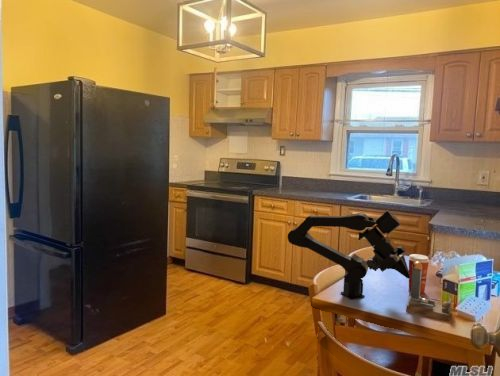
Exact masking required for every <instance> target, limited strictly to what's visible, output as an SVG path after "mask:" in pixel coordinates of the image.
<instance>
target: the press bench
mask: <svg viewBox="0 0 500 376" xmlns="http://www.w3.org/2000/svg"><path fill="white" fill-rule="evenodd" d="M452 298H453V297H449V299H448V301H443V302H442V303H441V304H439V303H436V300H433V299H429V302H428V304H426V303H421V302H416V301H412V300H408V302H407V304H406V308H405V312H407V313H411V314H412V313H413V314H417V315H421V316H425V317H430V318H434V319H439V320H441V321H442V320H444V321H447V322H448V321H449V322H450V317H451V314H452V313H451V312H452Z"/></svg>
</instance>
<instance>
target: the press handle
mask: <svg viewBox="0 0 500 376" xmlns="http://www.w3.org/2000/svg"><path fill="white" fill-rule="evenodd" d="M412 267H413V269H412V283H411V292H410V295H409V300H412V301H416V302H421V303H426V304H428V302H429V300H430V299H428V298H423V297H421V294H420V287H421V273H422V264H421V263H420V262H414V263H413V265H412ZM409 300H408V301H409Z"/></svg>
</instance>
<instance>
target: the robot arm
mask: <svg viewBox="0 0 500 376" xmlns="http://www.w3.org/2000/svg"><path fill="white" fill-rule="evenodd" d="M401 225H402V223H401V221H400V220H399V219H398V218H397V216H396V215H393V214H392V212H390V211H389V209H387V210H385V211H384V213H382V215H380V216H378V217H377V218H376V217H372V216H368V215H367V214H366V213H364V212H358V213H352V214H347V215H313V214H310V215H309V216H307V217H306V218H305V219H304V220H303V221H302V222H301V223H300V224H299V225H298V226H297V227H294V228H293V229H291V230H290V231H288V233H287V240H288V243H289V244H291V245H292V246H295V247H296V246H297V247H300V248H305V249H308V250H310V251H312V252H314V253H316V254H318V255H320V256H322V257H324V258H326V259H327V260H329V261H331V262H333V263H335V264H336V265H338V266H340V267H341V268H342V269H343V270H345V274H344V276H343V278H344V279H343V291H340V294H341V295H343V296H345V297H347V298H348V299H350V300H355V299H361V298H365V296H366V295H364V292H363V291H364V282H363V281H364V280H363V278H365V277H366V276H367V272H368V270H370V271H371V270H373V271H374V272H377V271H378V269H379V270H380V271H381V272H382V273H383V272H384V271H386V270H395V271H397V272H398V273H399V274H400V275H402V276H404V277H405V278H406V279H409V278H410V277H411V276H410V273H409V266H408V264H407V260H406V258H405V254H403V253H406V248H405V247H404V246H402V245H398V246H397V247H394V246H393V244H392V243H390V241H391V239H389V238H386V237H385V234H387V235H390V234H391V233H393V231H395V230H396V229H398V228H399V227H400V226H401ZM312 227H323V228H324V227H325V228H326V227H330V228H331V227H332V228H333V227H334V228H346V229H349V230H354V231H357V232H358V231H359V232H358V241H361V240H362V239H365V241H366V242H368V244H369V245H370V247H372V249H373V250H372V252H373V253H374V256H373V257H372V258H369V259H367V261H366V260H365V259H364V257H361V256H359V255H357V254H356V253H353V254H352V255H346V254H344V253H342V252H341V251H338V250H336V249H335V248H333V247H331V246H329V245H327V244H326V243H323V242H322V241H320V240H318V239H315V238H314V237H313V235H311V234H310V232H309V231H310V230H311V229H312ZM362 231H363V232H362Z"/></svg>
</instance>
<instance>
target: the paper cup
mask: <svg viewBox="0 0 500 376" xmlns="http://www.w3.org/2000/svg"><path fill="white" fill-rule="evenodd" d="M407 259H408V270H409V273H410V276H411V277H410V278H408V291H409V292H410V293H411V283H412V269H413V267H412V265H413V263H414V262H420V263H421V264H422V273H421V287H420V295H421V294H422V295H423V294H425V290H426V285H427V279H428V278H427V277H428V270H429V269H428V268H429V263H430V257H428V256H427V255H425V254H419V253H417V254H416V253H413V254H412V253H411V254H409V256H408V258H407Z"/></svg>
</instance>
